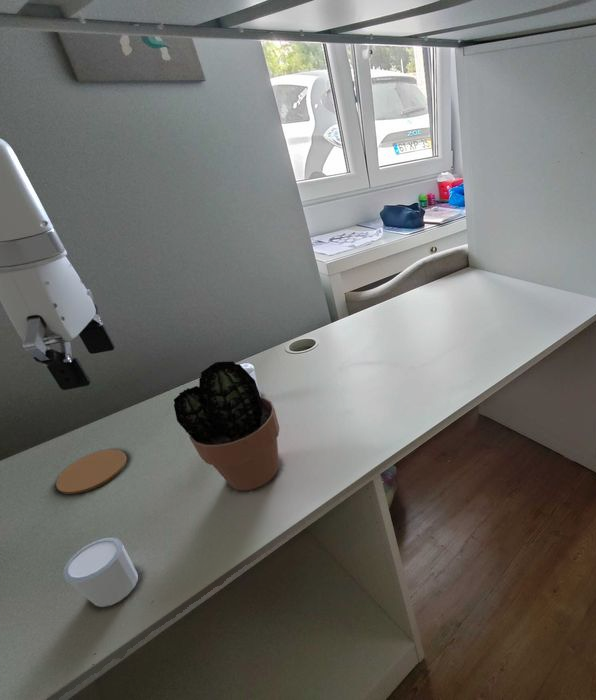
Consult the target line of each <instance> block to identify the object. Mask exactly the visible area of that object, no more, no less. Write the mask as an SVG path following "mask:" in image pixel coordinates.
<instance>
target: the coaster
mask: <svg viewBox="0 0 596 700" xmlns="http://www.w3.org/2000/svg"><path fill="white" fill-rule="evenodd" d="M127 459H128V458H127V456H126V453H125V452H123V451H122V450H119V449H104V450H99V451H96V452H93V453H90V454H88V455H86V456H83V457H81V458H79V459H77V460H76V461H74V462H73V463H72V464H69V466H67V467H66V468H65V469H64V470H63V471H62V472H61V473H60V474H59V475H58V477H57V479H56V482H55V486H56V489H57V490H58V491H59V492H60V493H62V494H64V495H77V494H82V493H86V492H89V491H92V490H95V489H96V488H99V487H102V486H103V485H105V484H106V483H108V482H110V481H111V480H112V479H114V478H115V477H116V476H117V475H119V473H120V472H121V471H123V469H124V468H125V466H126V463H127Z"/></svg>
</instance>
